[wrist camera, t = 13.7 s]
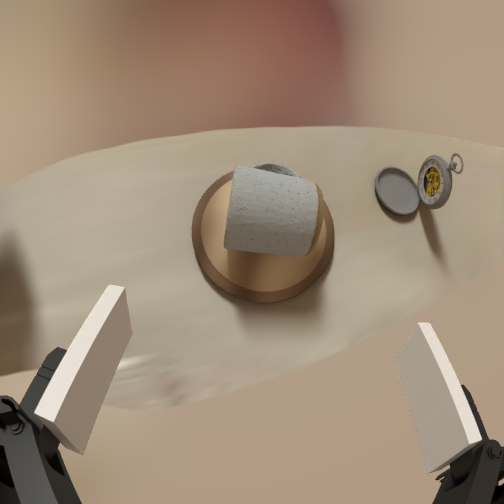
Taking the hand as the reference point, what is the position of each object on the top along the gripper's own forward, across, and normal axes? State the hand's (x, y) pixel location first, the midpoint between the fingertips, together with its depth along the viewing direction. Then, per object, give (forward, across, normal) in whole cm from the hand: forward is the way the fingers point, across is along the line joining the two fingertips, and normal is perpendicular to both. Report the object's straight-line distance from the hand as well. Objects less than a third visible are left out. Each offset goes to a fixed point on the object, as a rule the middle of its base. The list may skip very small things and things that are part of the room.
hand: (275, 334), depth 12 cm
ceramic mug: (+20, 0, -3) cm, 20 cm away
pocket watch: (+25, +18, +1) cm, 31 cm away
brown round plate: (+20, 0, -5) cm, 20 cm away
